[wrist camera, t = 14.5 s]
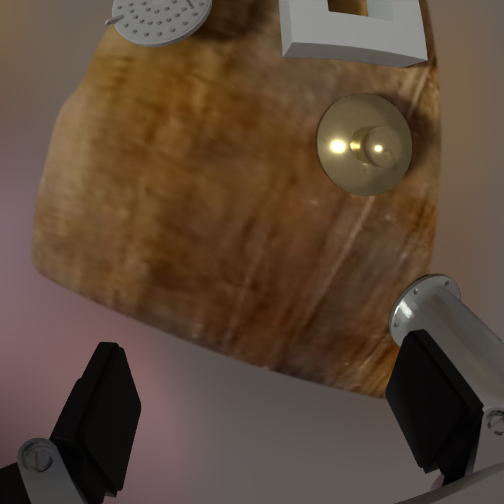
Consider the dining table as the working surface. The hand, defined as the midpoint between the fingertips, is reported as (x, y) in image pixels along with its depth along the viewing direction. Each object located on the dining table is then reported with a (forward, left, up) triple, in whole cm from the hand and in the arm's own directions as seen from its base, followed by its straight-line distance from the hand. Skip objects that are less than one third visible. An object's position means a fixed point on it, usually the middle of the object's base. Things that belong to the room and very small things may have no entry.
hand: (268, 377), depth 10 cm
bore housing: (+11, -23, -26) cm, 37 cm away
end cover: (-2, -13, -26) cm, 29 cm away
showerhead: (+21, -7, -26) cm, 34 cm away
